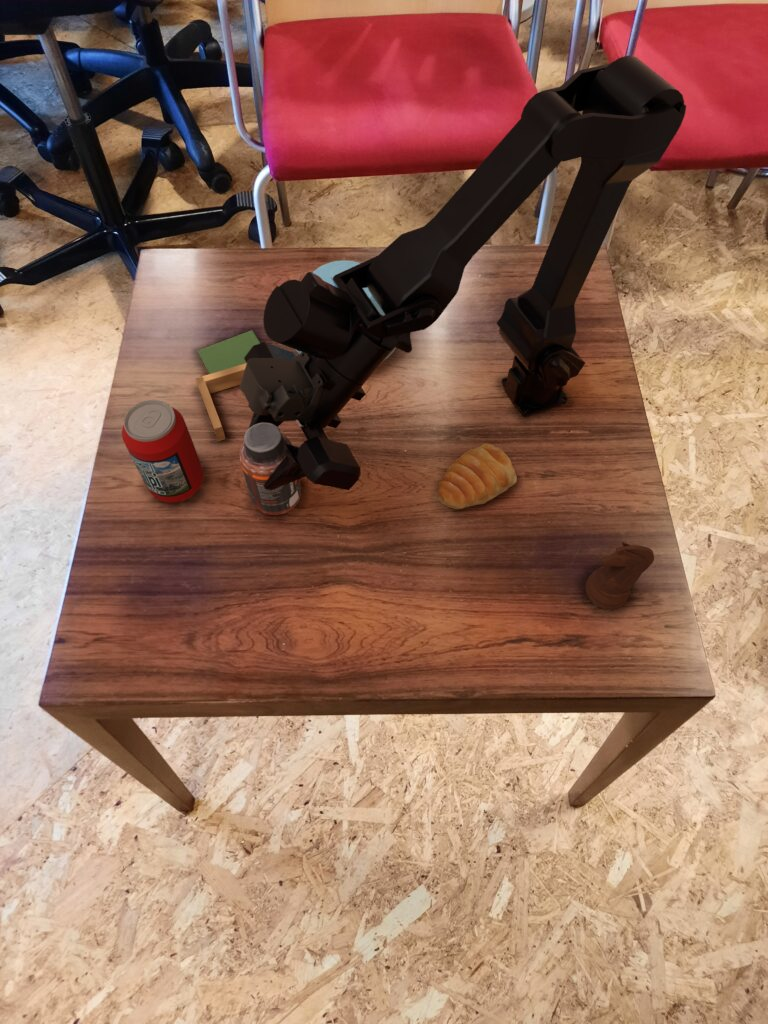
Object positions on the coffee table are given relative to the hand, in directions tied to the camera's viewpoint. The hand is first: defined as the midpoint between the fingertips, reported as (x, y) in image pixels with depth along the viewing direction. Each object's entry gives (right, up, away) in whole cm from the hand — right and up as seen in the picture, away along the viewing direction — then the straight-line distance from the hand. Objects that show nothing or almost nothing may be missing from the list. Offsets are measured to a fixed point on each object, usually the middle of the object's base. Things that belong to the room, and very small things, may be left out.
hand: (257, 467), depth 81 cm
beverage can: (-11, -2, +7) cm, 13 cm away
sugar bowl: (+9, +18, +19) cm, 28 cm away
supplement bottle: (+1, -3, +6) cm, 7 cm away
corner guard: (-4, +9, +13) cm, 16 cm away
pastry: (+25, -2, +7) cm, 26 cm away
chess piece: (+38, -14, 0) cm, 41 cm away
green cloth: (-6, +16, +18) cm, 24 cm away
